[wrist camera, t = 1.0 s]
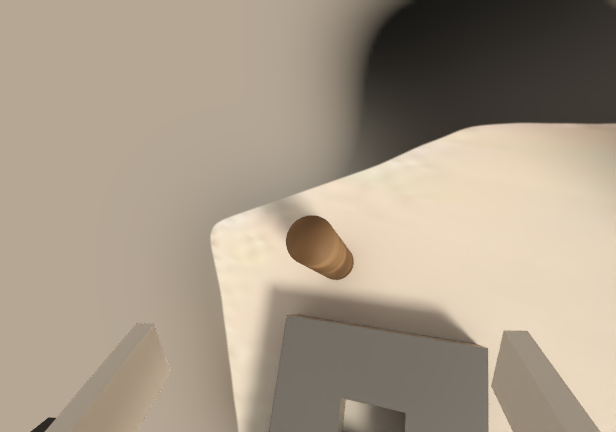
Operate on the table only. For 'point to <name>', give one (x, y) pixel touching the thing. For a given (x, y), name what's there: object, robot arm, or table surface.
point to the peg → (319, 247)
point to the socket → (377, 378)
